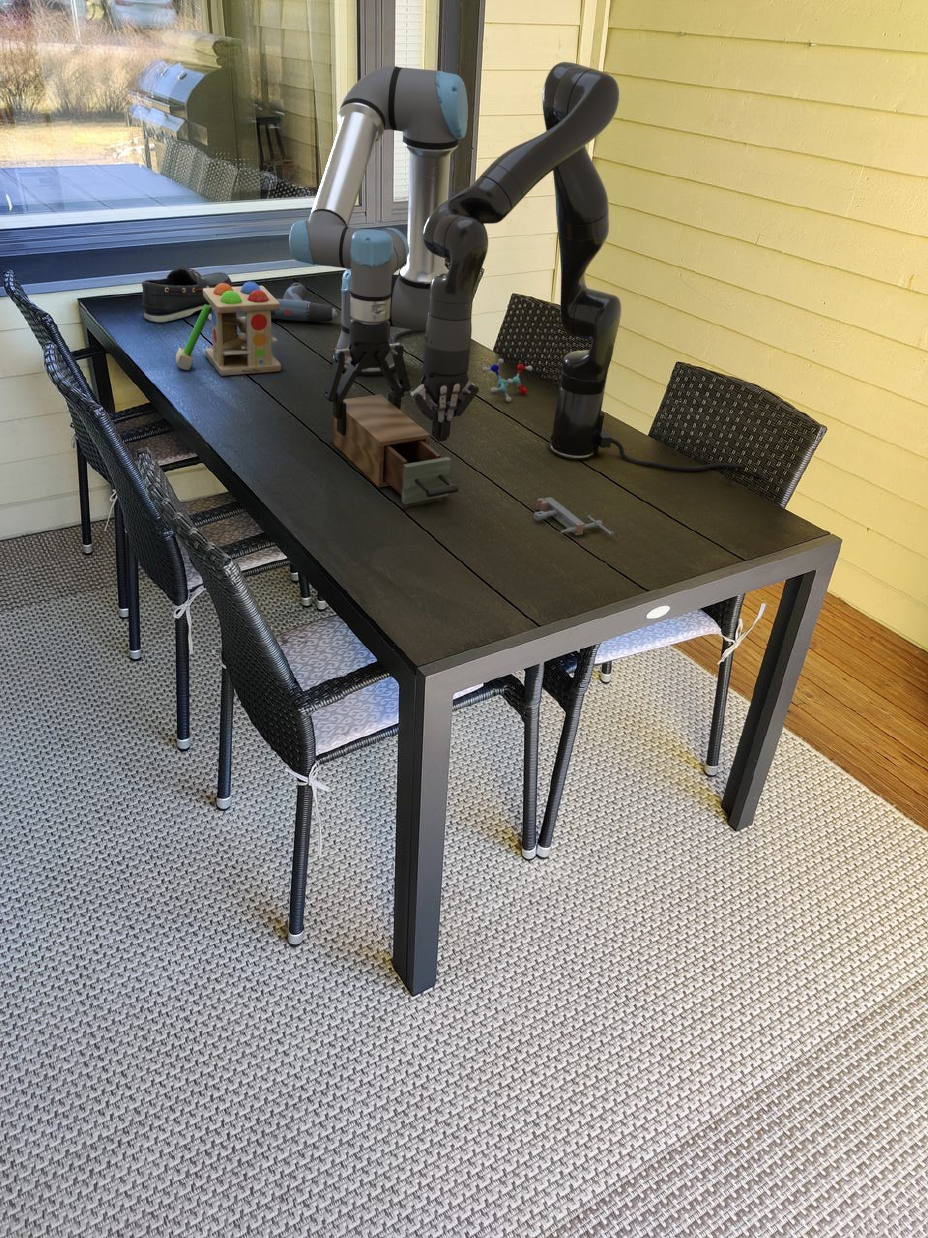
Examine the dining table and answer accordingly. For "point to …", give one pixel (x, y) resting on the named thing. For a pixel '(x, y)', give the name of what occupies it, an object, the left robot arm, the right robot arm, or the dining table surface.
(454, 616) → the dining table surface
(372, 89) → the left robot arm
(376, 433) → the cabinet
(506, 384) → the molecular model
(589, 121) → the right robot arm
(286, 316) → the power drill
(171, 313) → the boat shoe
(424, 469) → the drawer
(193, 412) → the dining table surface
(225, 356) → the pounding bench toy
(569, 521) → the clamp
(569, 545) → the dining table surface
